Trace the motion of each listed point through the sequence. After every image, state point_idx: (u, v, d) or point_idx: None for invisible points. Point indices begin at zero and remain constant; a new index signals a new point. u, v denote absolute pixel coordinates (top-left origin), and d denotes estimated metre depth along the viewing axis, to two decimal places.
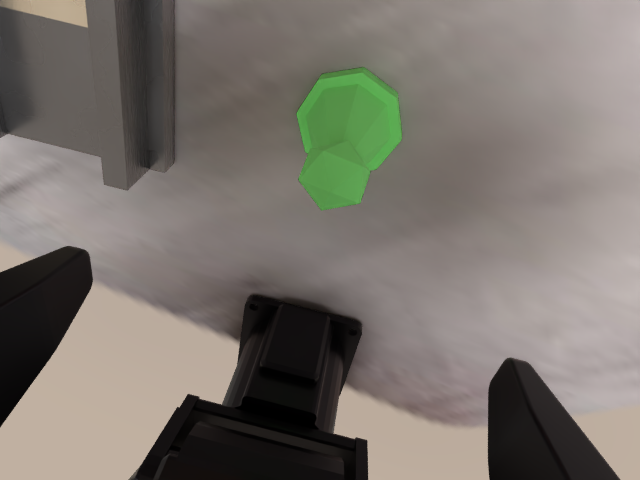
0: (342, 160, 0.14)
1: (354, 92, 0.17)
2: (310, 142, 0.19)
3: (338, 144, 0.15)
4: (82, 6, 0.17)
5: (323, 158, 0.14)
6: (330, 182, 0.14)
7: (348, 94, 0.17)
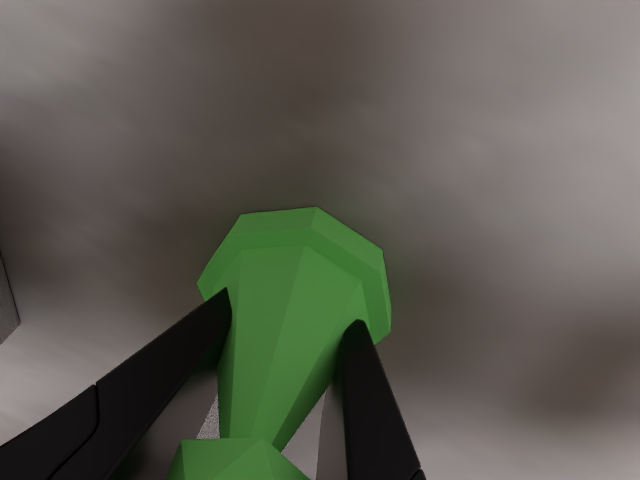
0: None
1: (295, 265, 0.09)
2: None
3: (234, 460, 0.06)
4: None
5: None
6: None
7: (284, 270, 0.09)
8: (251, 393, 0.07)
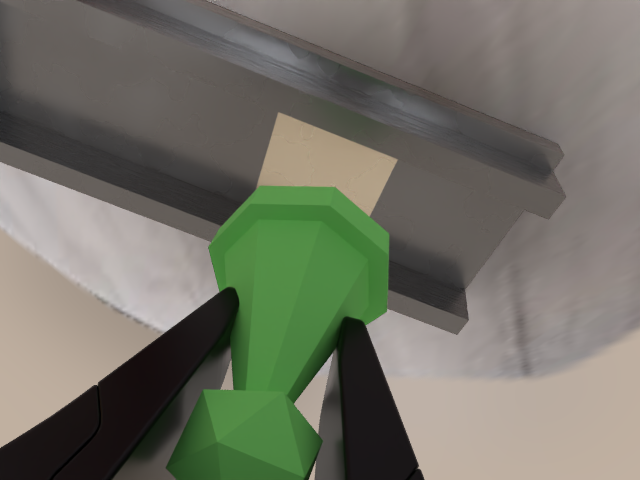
0: (260, 465, 0.06)
1: (311, 239, 0.09)
2: None
3: (258, 409, 0.07)
4: (376, 163, 0.19)
5: (217, 455, 0.06)
6: None
7: (300, 243, 0.09)
8: (267, 353, 0.08)
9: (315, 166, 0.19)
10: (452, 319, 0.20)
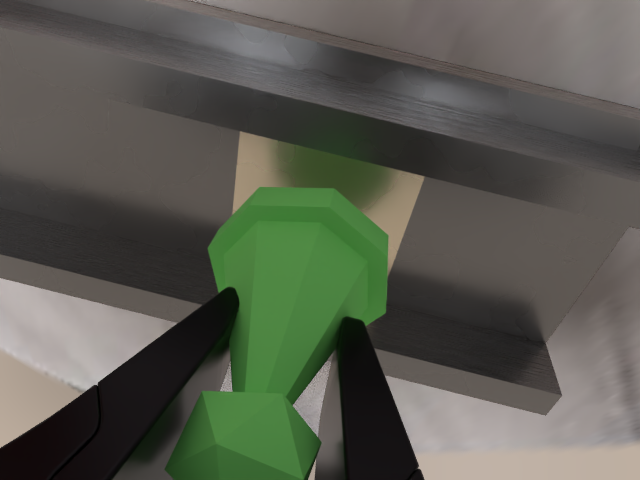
0: (258, 467, 0.06)
1: (310, 241, 0.09)
2: None
3: (256, 411, 0.07)
4: (393, 183, 0.12)
5: (216, 457, 0.06)
6: None
7: (300, 244, 0.09)
8: (266, 354, 0.08)
9: None
10: (537, 396, 0.13)
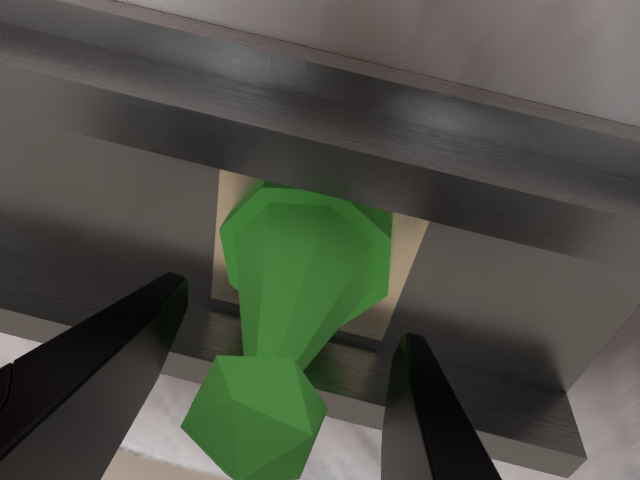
0: (271, 421, 0.07)
1: (319, 222, 0.10)
2: None
3: (269, 372, 0.07)
4: (396, 220, 0.11)
5: (232, 412, 0.07)
6: (241, 461, 0.07)
7: (309, 225, 0.10)
8: (276, 325, 0.08)
9: None
10: (558, 458, 0.12)
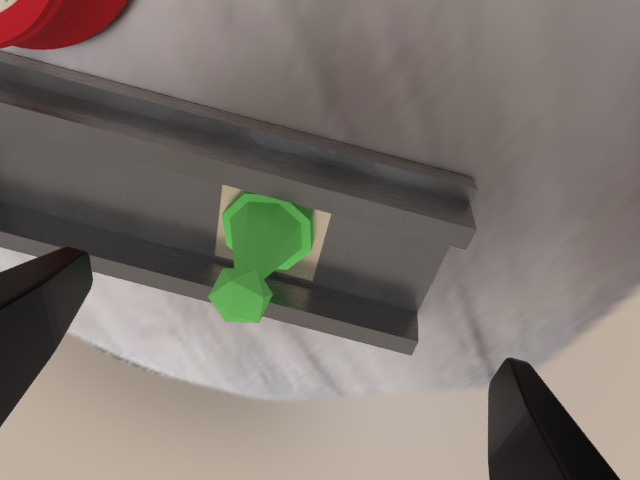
0: (246, 291, 0.17)
1: (273, 211, 0.20)
2: (231, 239, 0.21)
3: (246, 273, 0.17)
4: (315, 211, 0.21)
5: (230, 286, 0.17)
6: (233, 307, 0.17)
7: (267, 212, 0.20)
8: (250, 258, 0.18)
9: None
10: (403, 342, 0.22)
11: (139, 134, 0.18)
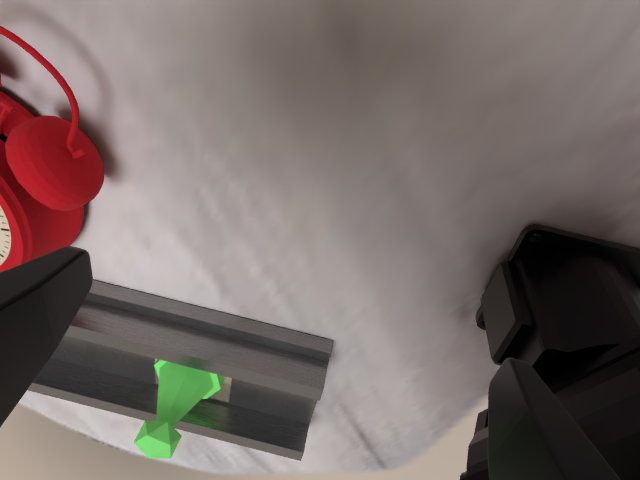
0: (158, 441, 0.24)
1: (187, 367, 0.27)
2: None
3: (159, 426, 0.25)
4: None
5: (147, 438, 0.24)
6: (149, 452, 0.24)
7: (183, 369, 0.27)
8: (167, 408, 0.26)
9: None
10: (293, 452, 0.29)
11: (88, 323, 0.26)
